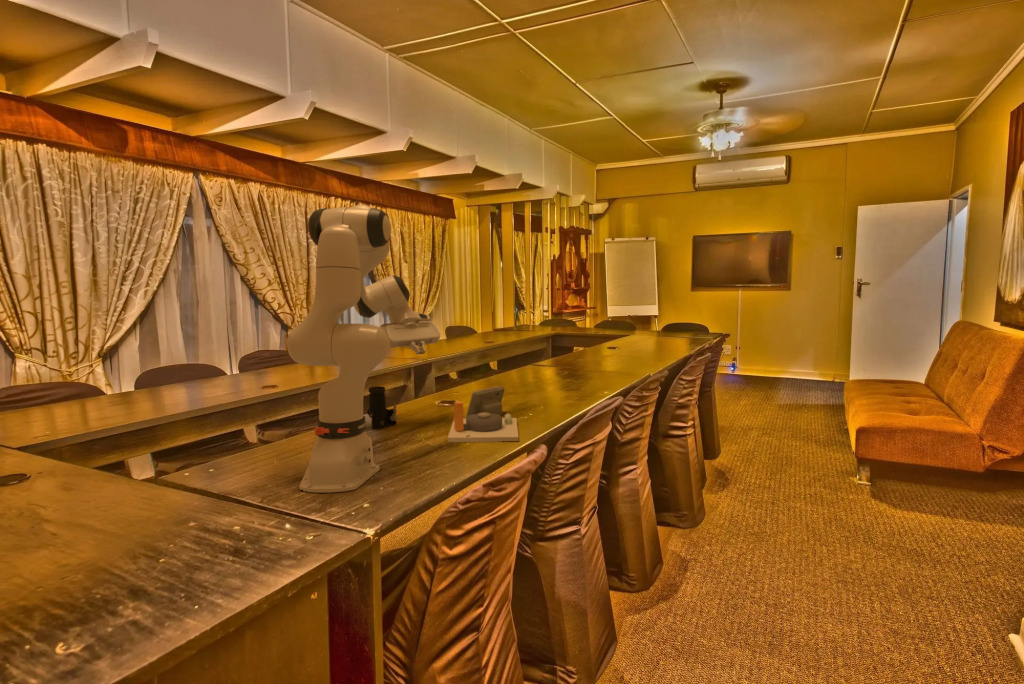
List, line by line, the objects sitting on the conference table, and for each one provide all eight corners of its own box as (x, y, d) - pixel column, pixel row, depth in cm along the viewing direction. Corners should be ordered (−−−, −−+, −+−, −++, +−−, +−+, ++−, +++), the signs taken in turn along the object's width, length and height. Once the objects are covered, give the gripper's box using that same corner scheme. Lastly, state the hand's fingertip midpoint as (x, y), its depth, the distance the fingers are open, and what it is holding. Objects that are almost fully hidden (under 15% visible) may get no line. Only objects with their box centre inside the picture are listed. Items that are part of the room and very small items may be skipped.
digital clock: (497, 411, 211) (497, 383, 210) (511, 415, 204) (511, 387, 202) (461, 417, 201) (460, 388, 200) (474, 422, 194) (474, 392, 193)
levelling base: (518, 441, 170) (518, 429, 169) (447, 442, 169) (447, 430, 169) (516, 422, 194) (516, 411, 193) (454, 422, 193) (454, 411, 193)
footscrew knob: (492, 420, 189) (492, 394, 188) (508, 428, 179) (508, 401, 178) (449, 425, 182) (449, 399, 181) (463, 434, 172) (462, 406, 171)
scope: (397, 385, 189) (380, 391, 180) (398, 424, 191) (381, 431, 182) (377, 384, 192) (359, 389, 183) (379, 422, 194) (361, 429, 185)
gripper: (381, 318, 181) (398, 350, 175) (432, 314, 194) (449, 344, 189) (375, 330, 184) (391, 362, 178) (425, 326, 198) (442, 356, 192)
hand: (421, 353), depth 184 cm, fingers closed
